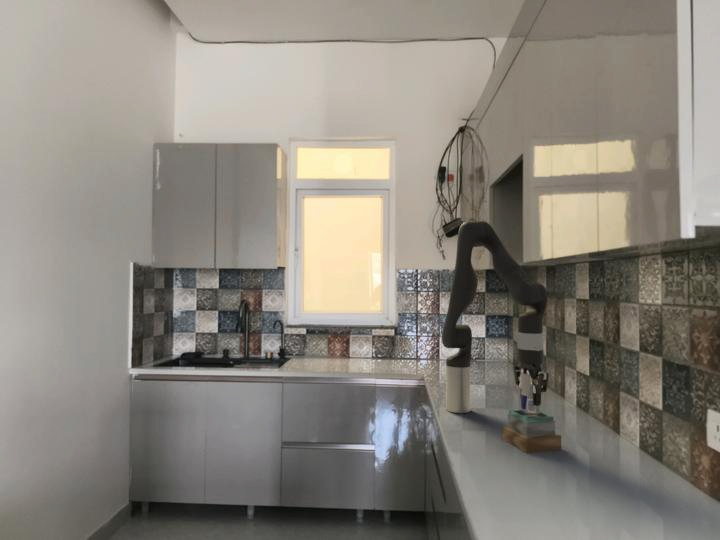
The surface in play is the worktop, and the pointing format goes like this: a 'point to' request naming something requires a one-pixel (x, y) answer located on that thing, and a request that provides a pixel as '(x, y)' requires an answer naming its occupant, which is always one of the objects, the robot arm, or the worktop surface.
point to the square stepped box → (531, 432)
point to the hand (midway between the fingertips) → (530, 402)
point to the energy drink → (528, 396)
